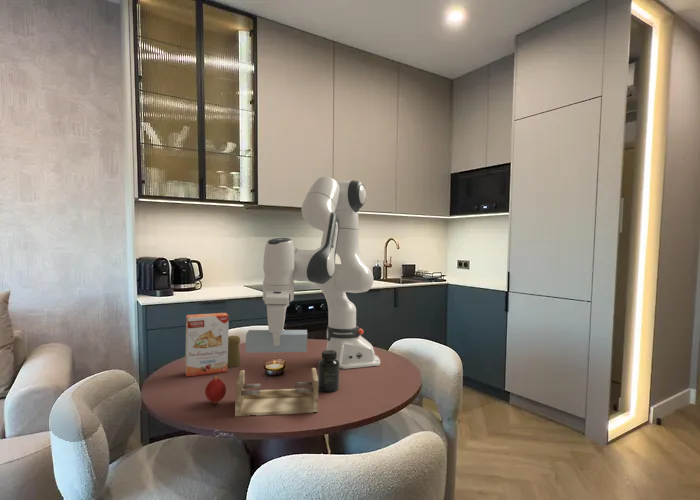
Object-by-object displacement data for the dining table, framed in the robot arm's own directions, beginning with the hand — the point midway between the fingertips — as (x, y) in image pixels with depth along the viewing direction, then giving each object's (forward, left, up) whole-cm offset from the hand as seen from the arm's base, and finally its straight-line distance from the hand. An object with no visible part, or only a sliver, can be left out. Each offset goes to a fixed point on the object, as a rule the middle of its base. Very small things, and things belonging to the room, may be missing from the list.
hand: (277, 341), depth 113 cm
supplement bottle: (-16, -12, -19) cm, 28 cm away
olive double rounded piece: (+18, -40, -19) cm, 47 cm away
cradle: (0, 0, -19) cm, 19 cm away
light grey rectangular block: (0, 0, -2) cm, 2 cm away
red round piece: (+18, -4, -19) cm, 26 cm away
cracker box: (+26, -32, -19) cm, 45 cm away
